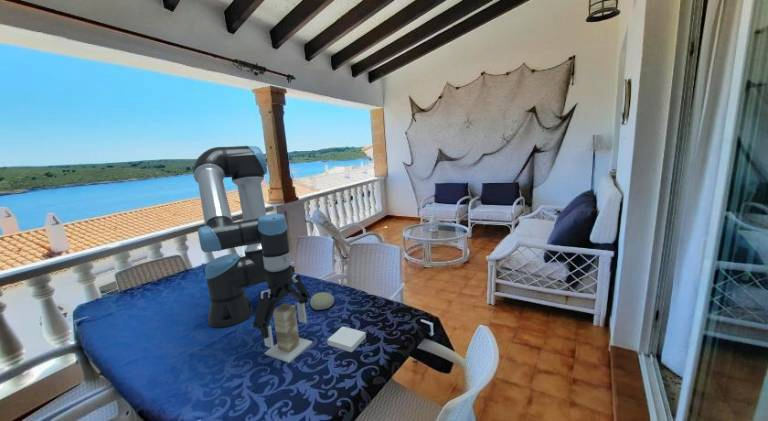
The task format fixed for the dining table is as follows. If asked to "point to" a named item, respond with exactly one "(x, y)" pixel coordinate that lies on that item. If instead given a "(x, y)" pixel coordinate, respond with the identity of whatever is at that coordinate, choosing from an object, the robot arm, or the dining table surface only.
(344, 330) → the tile
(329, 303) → the sea urchin shell
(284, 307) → the beige rectangular block
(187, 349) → the dining table surface
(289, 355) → the mat
